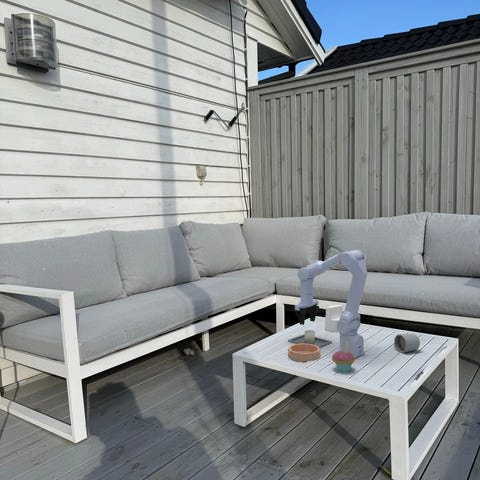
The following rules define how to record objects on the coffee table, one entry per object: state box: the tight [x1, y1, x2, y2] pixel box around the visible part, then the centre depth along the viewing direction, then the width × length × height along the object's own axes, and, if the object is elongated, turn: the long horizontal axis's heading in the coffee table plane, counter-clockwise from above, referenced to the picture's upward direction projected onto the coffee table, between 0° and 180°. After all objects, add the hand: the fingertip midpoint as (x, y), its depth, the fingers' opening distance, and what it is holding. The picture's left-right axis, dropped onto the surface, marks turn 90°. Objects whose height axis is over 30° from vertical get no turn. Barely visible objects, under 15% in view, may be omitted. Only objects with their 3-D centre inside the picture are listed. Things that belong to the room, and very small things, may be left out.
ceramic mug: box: [393, 333, 421, 354], centre depth 193 cm, size 11×8×8 cm
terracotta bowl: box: [287, 343, 321, 363], centre depth 188 cm, size 13×13×4 cm
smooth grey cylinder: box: [304, 329, 316, 344], centre depth 204 cm, size 5×5×5 cm
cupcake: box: [331, 342, 356, 373], centre depth 172 cm, size 9×8×12 cm
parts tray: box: [287, 333, 333, 349], centre depth 205 cm, size 16×12×1 cm
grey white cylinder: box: [324, 304, 343, 333], centre depth 225 cm, size 9×9×12 cm
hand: (307, 322), depth 205 cm, fingers open, 7 cm apart
